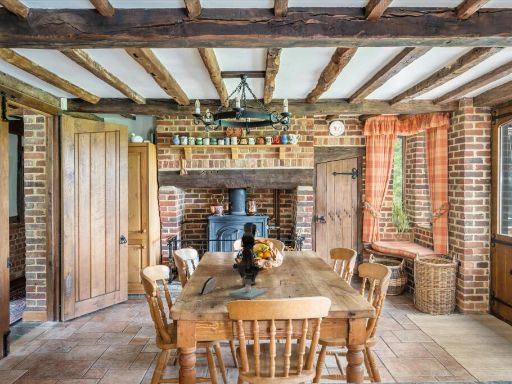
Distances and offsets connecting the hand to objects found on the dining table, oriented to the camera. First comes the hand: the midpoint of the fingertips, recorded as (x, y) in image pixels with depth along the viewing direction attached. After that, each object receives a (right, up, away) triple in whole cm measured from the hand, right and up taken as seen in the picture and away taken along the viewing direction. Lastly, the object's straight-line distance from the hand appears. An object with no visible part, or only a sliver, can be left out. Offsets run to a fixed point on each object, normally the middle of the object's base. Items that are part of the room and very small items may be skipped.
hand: (247, 281), depth 248 cm
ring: (0, -1, 0) cm, 1 cm away
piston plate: (0, -8, 0) cm, 8 cm away
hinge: (-25, -8, +8) cm, 28 cm away
